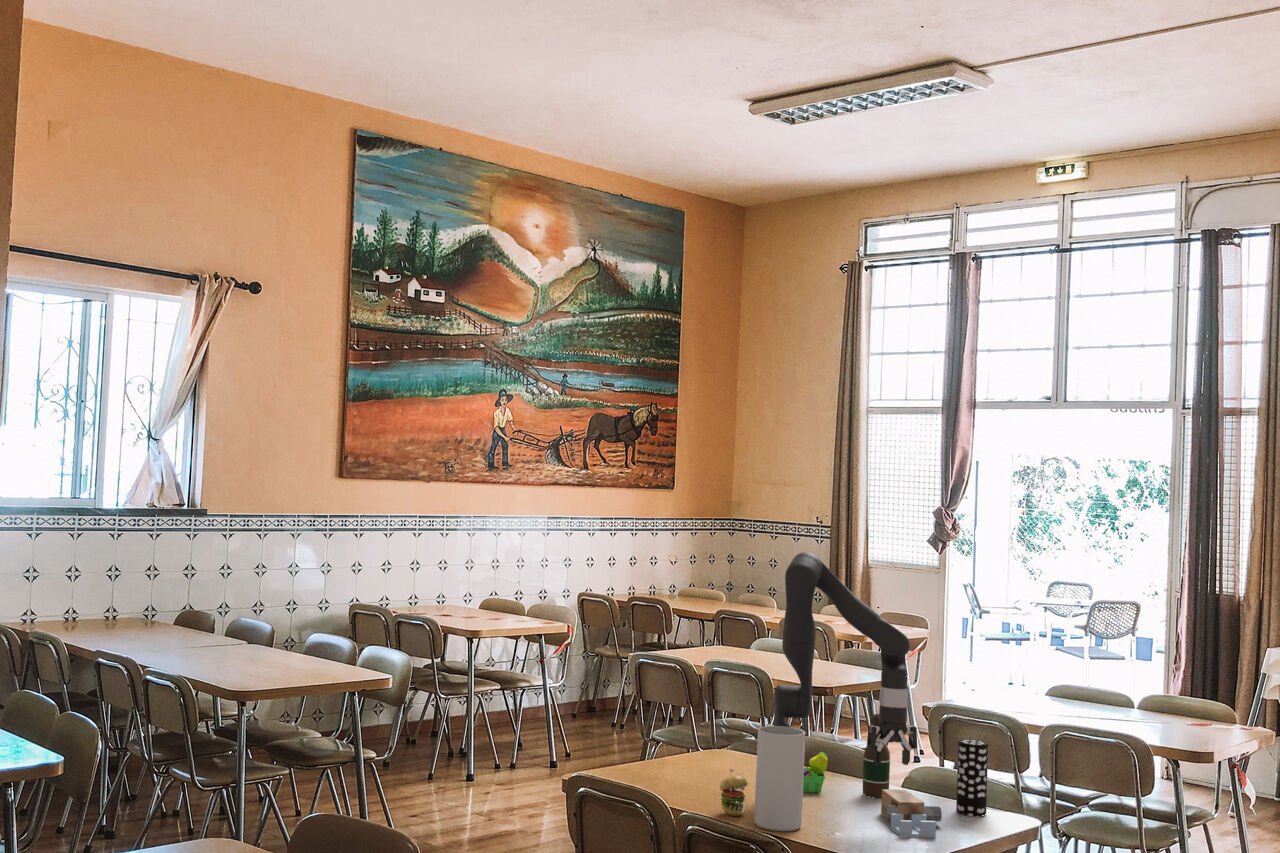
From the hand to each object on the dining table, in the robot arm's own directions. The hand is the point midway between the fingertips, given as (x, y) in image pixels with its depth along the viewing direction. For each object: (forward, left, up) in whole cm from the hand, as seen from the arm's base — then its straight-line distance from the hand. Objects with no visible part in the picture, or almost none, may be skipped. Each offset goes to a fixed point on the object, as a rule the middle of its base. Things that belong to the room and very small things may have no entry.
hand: (891, 764), depth 315 cm
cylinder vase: (-32, -3, -16) cm, 36 cm away
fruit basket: (-11, +39, -17) cm, 44 cm away
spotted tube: (+30, +15, -16) cm, 37 cm away
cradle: (+4, -8, -16) cm, 18 cm away
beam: (+5, +4, -16) cm, 17 cm away
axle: (+7, +1, -15) cm, 17 cm away
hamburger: (-42, +8, -16) cm, 46 cm away
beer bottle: (+7, +33, -16) cm, 37 cm away
